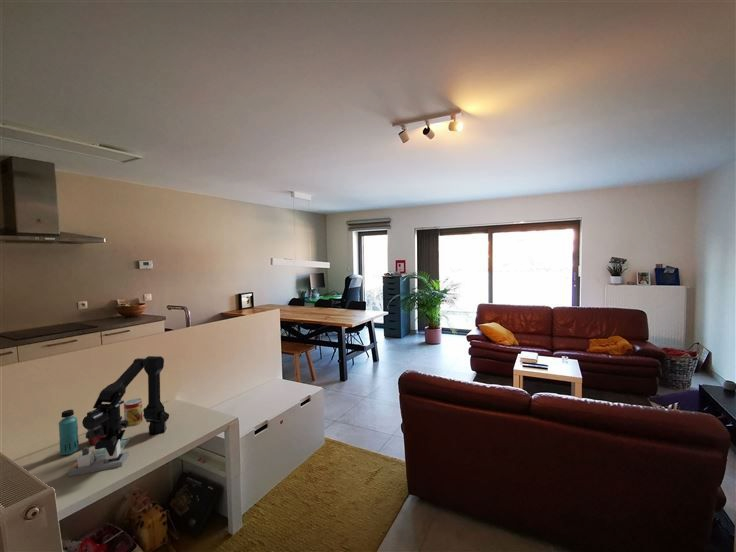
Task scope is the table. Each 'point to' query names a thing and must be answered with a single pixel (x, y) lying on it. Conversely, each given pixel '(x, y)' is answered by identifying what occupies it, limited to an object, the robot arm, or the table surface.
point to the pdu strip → (100, 464)
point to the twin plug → (85, 458)
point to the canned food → (133, 411)
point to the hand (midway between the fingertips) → (113, 452)
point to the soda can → (94, 439)
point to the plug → (116, 453)
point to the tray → (122, 445)
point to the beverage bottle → (68, 433)
